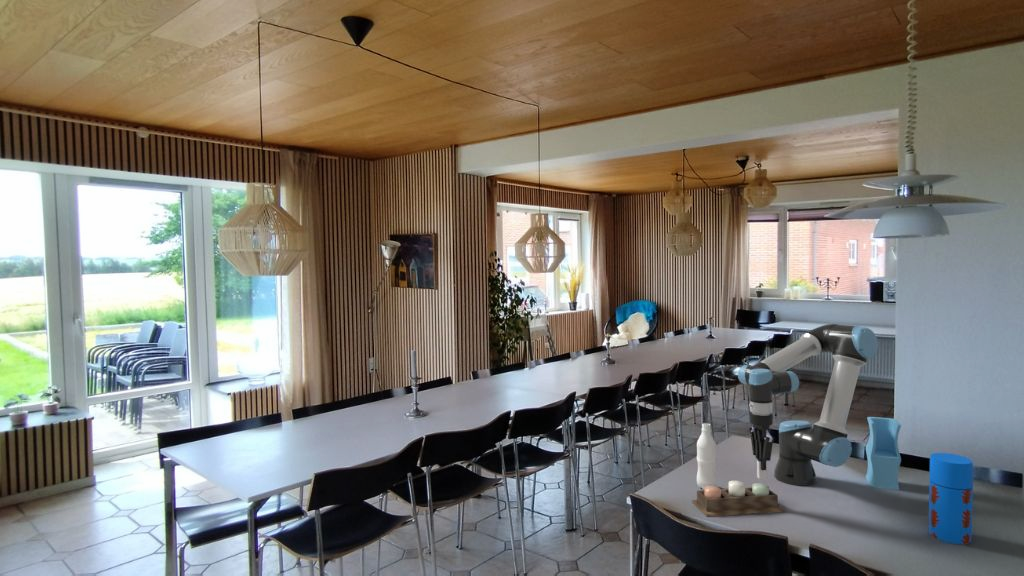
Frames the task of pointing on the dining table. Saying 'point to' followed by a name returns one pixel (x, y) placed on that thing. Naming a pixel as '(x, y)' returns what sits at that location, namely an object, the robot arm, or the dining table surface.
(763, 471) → the robot arm
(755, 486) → the pale green rounded block
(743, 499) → the brown wooden holder
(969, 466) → the thermos
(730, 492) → the cream key
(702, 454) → the water bottle
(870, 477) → the vase
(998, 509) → the dining table surface
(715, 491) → the pink rounded block
